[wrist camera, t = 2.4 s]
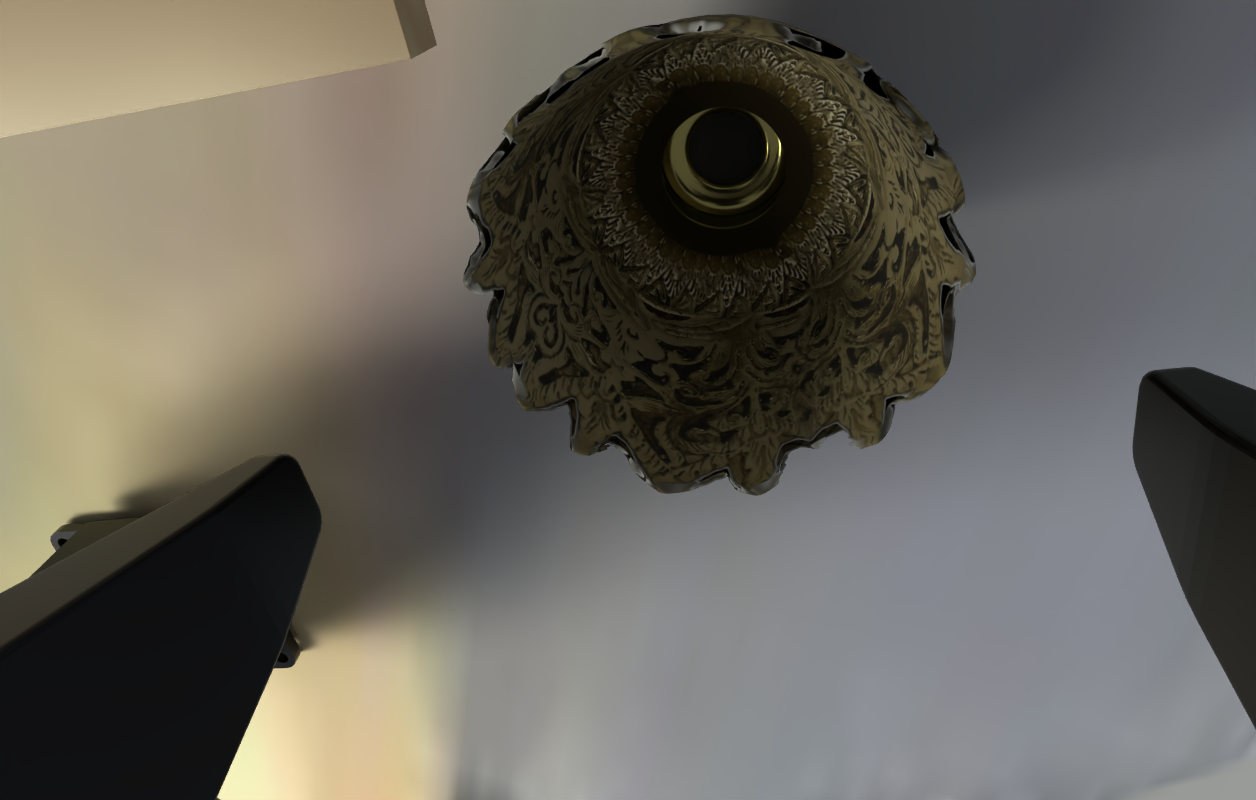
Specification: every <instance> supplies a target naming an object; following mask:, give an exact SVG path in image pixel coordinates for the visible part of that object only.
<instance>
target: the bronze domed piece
mask: <svg viewBox="0 0 1256 800" xmlns="http://www.w3.org/2000/svg"><path fill="white" fill-rule="evenodd" d="M719 112H735V113H738V114H741V115H743V116H745V117H747V118H748V119H749V120H751V121H752V122H753V123H754V125H755V126H756V127H757V129H758V131H759V133H760V135H761V138H762V144H763V151H762V157H761V160H760V163H759V165H758V166H757V168H756V169H755V171H754V172H753V173H752V174H751V175H750V176H749V177H748V178H746V179H745V180H743V181H741V182H739V183H736V184H731V185H719V184H715V183H712V182H710V181H708V180H706V179H704V178H703V177H702V176H701V175H700V174H699V173H698V172H697V171H696V169H695V168H694V166H693V164H692V161H691V158H690V152H689V146H690V140H691V137H692V134H693V132H694V130H695V129H696V127H697V126H698V125H699V124H700V123H701V122H702V121H703V120H704V119H705V118H707V117H708V116H710V115H712V114H715V113H719ZM503 134H504V135H505V136H506V137H505V139H504V140H503V141H502V143H501V144H500V145H499V147H498V148H497V149H496V150H495V152H494V153H493V154H492V155H491V157H490V158H489V159H488V160H487V162H486V163H485V164H484V165H483V167H482V168H481V169H480V170H479V171H478V173H477V175H476V177H475V178H474V180H473V182H472V185H471V187H470V190H469V193H468V198H467V210H468V213H469V216H470V219H471V220H472V222H473V223H474V224H476V225H477V228H478V231H479V238H480V242H479V245H478V246H477V248H476V250H475V251H474V252H473V254H472V255H471V256H470V259H469V262H468V266H467V268H466V270H465V272H464V277H463V282H464V285H465V287H466V288H468V289H469V290H471V291H473V292H474V293H477V294H481V295H482V296H484V295H483V293H485V292H489V291H492V290H493V291H494V295H493V298H492V300H491V302H490V304H489V307H488V311H487V315H486V317H487V320H488V322H489V336H488V352H489V358H490V360H491V362H492V363H493V365H495V366H496V367H498V368H503V367H506V366H507V367H508V369H509V370H510V369H511V368H512V367H513V374H512V381H513V384H514V387H515V391H516V395H517V401H518V403H519V404H520V406H521V408H522V409H524V410H526V411H528V412H532V413H540V412H548V411H553V410H556V409H559V408H561V407H562V406H565V405H568V406H569V410H570V411H569V415H570V417H571V426H570V427H571V429H570V447H571V450H572V451H574V452H576V453H578V454H581V455H588V456H590V455H592V454H594V453H595V452H601V451H603V450H606V449H607V447H609V446H611V445H605V444H606V443H611V444H612V445H613V446H614V447H615V448H616V449H618V450H620V451H621V452H623V453H624V454H625V456H626V457H627V459H628V461H629V463H630V465H631V467H632V468H633V470H634V472H635V473H636V474H637V475H638V476H639V477H640V478H642V479H643V480H644V481H645V482H646V483H647V484H649V485H650V486H651V487H653V488H654V489H656V490H657V491H659V492H661V493H680V492H685V491H690V490H693V489H696V488H698V487H701V486H704V485H707V484H709V483H711V482H713V481H715V480H718V479H723V478H725V477H727V476H728V477H729V480H730V482H731V483H732V485H733V486H734V488H735V489H736V490H738V491H740V492H743V493H747V494H750V495H756V496H757V495H761V494H764V493H766V492H767V491H769V490H771V489H772V488H774V487H775V486H776V485H777V484H778V481H779V478H780V475H781V474H782V473H783V472H782V471H783V469H784V467H785V466H786V464H785V463H784V462H785V461H786V459H787V458H788V454H789V453H790V452H791V451H792V450H795V449H797V448H799V447H807V448H812V449H815V448H819V447H820V446H821V444H822V443H823V442H824V440H825V439H826V438H827V437H828V436H831V435H833V434H835V433H837V432H839V431H842V430H843V431H845V432H847V433H848V435H849V439H851V440H853V441H854V442H852V443H850V444H849V445H851V446H854V447H856V448H858V449H862V448H865V447H868V446H871V445H874V444H877V443H879V442H880V441H881V440H882V439H883V438H884V437H885V436H886V434H887V432H888V431H889V429H890V426H891V423H892V419H893V414H894V410H895V404H898V403H901V402H909V401H912V400H915V399H917V398H919V397H920V396H922V395H923V394H924V393H926V392H927V391H928V390H929V389H930V388H932V387H933V386H934V385H935V384H936V383H937V382H938V381H939V379H940V378H941V377H942V376H943V375H944V374H945V373H946V371H947V369H948V366H949V364H950V360H951V355H952V348H953V341H954V330H955V317H954V299H955V295H956V294H957V293H958V292H960V291H961V290H962V288H963V287H965V286H966V285H968V284H971V283H972V280H973V278H974V277H975V275H976V267H975V260H974V257H973V255H972V253H971V251H970V250H969V248H968V246H967V245H966V243H965V242H964V240H963V239H962V237H961V235H960V233H959V231H958V229H957V227H956V225H955V223H954V221H953V218H952V215H955V214H957V213H958V212H959V211H960V210H961V209H962V208H963V207H964V206H965V196H964V189H963V185H962V181H961V178H960V175H959V173H958V171H957V168H956V166H955V164H954V162H953V161H952V159H951V157H950V155H949V153H947V152H945V151H944V150H942V149H941V148H940V147H939V146H938V145H939V143H940V140H939V139H938V138H937V136H936V135H935V134H934V132H933V131H932V128H931V127H930V125H929V124H928V122H927V121H926V120H925V119H924V118H923V117H922V115H921V114H920V113H919V112H918V111H917V110H916V109H915V108H914V107H913V106H912V105H911V104H910V103H909V102H908V101H907V99H906V98H905V97H904V96H903V95H902V94H901V93H900V92H899V91H898V90H897V89H896V88H895V87H894V86H893V85H892V84H891V83H889V82H888V81H885V80H883V79H881V78H880V77H879V76H878V75H877V74H875V73H874V71H873V70H872V65H871V64H869V63H868V62H866V61H865V60H863V59H861V58H859V57H858V56H856V55H854V54H852V53H850V52H849V51H847V50H845V49H843V48H841V47H839V46H837V45H835V44H833V43H830V42H828V41H825V40H823V39H820V38H818V37H816V36H814V35H812V34H810V33H808V32H806V31H804V30H801V29H798V28H795V27H792V26H789V25H787V24H784V23H781V22H778V21H773V20H769V19H764V18H760V17H755V16H744V15H733V14H727V15H705V16H698V17H692V18H685V19H680V20H676V21H672V22H668V23H665V24H660V25H650V26H644V27H640V28H636V29H632V30H629V31H627V32H624V33H622V34H619V35H617V36H615V37H613V38H612V39H610V40H608V41H606V42H604V43H603V44H602V48H601V49H599V50H598V51H596V52H594V53H592V54H591V55H589V56H588V57H587V58H585V59H584V60H582V61H581V62H579V63H578V64H576V65H574V66H573V67H570V68H569V69H567V70H566V71H565V72H564V73H562V74H561V75H560V77H559V78H558V79H557V81H556V82H555V83H554V84H553V85H552V86H551V87H549V88H548V89H547V90H546V91H544V92H543V93H542V94H540V95H536V96H535V97H534V98H533V99H532V100H531V101H530V102H529V103H528V104H526V105H525V106H524V107H523V108H521V109H520V110H519V111H518V112H517V113H516V114H515V115H514V116H513V117H512V118H511V119H510V121H509V122H508V124H507V125H506V127H505V129H504V131H503ZM956 284H959V290H958V291H957V292H956V294H955V295H954V290H955V285H956ZM603 445H605V446H603ZM788 452H789V453H788ZM786 453H787V454H786ZM785 454H786V455H785ZM782 460H783V461H782ZM781 462H782V464H781ZM780 465H781V467H780ZM779 467H780V471H781V472H780V474H779Z"/></svg>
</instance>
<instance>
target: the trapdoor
mask: <svg viewBox="0 0 1256 800" xmlns="http://www.w3.org/2000/svg"><path fill="white" fill-rule="evenodd" d="M436 45H437V44H436V40H435V37H434V33H433V29H432V26H431V22H430V19H429V15H428V12H427V8H426V5H425V1H424V0H0V138H2V137H7V136H12V135H17V134H22V133H28V132H33V131H38V130H43V129H48V128H54V127H59V126H64V125H69V124H75V123H80V122H85V121H90V120H95V119H101V118H106V117H111V116H116V115H121V114H127V113H132V112H137V111H142V110H148V109H153V108H158V107H163V106H168V105H174V104H179V103H184V102H189V101H194V100H200V99H205V98H210V97H215V96H220V95H226V94H231V93H236V92H241V91H247V90H252V89H257V88H262V87H267V86H273V85H278V84H283V83H288V82H293V81H299V80H304V79H309V78H314V77H320V76H325V75H330V74H335V73H340V72H346V71H351V70H356V69H361V68H366V67H372V66H377V65H382V64H387V63H392V62H398V61H403V60H408V59H412V58H414V57H415V56H417V55H419V54H421V53H423V52H425V51H427V50H428V49H430V48H432V47H434V46H436Z"/></svg>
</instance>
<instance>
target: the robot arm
mask: <svg viewBox="0 0 1256 800" xmlns="http://www.w3.org/2000/svg"><path fill="white" fill-rule="evenodd" d="M1133 458H1134V463H1135V467H1136V470H1137V473H1138V476H1139V478H1140V481H1141V484H1142V486H1143V489H1144V491H1145V494H1146V497H1147V499H1148V502H1149V504H1150V507H1151V510H1152V512H1153V515H1154V518H1155V520H1156V523H1157V525H1158V528H1159V531H1160V533H1161V536H1162V538H1163V541H1164V544H1165V546H1166V549H1167V552H1168V554H1169V557H1170V559H1171V562H1172V565H1173V567H1174V570H1175V573H1176V575H1177V578H1178V580H1179V583H1180V585H1181V587H1182V590H1183V592H1184V595H1185V597H1186V599H1187V601H1188V603H1189V605H1190V607H1191V609H1192V611H1193V613H1194V615H1195V617H1196V619H1197V621H1198V623H1199V625H1200V627H1201V629H1202V631H1203V633H1204V634H1205V636H1206V638H1207V640H1208V642H1209V644H1210V646H1211V647H1212V649H1213V651H1214V653H1215V655H1216V657H1217V658H1218V660H1219V662H1220V664H1221V666H1222V668H1223V670H1224V671H1225V673H1226V675H1227V677H1228V679H1229V681H1230V683H1231V684H1232V686H1233V688H1234V690H1235V692H1236V694H1237V696H1238V697H1239V699H1240V701H1241V703H1242V705H1243V707H1244V709H1245V710H1246V712H1247V714H1248V716H1249V718H1250V720H1251V722H1252V723H1253V725H1254V727H1255V729H1256V390H1255V389H1252V388H1249V387H1247V386H1244V385H1241V384H1239V383H1236V382H1233V381H1230V380H1228V379H1225V378H1222V377H1220V376H1217V375H1214V374H1212V373H1209V372H1206V371H1204V370H1201V369H1198V368H1195V367H1182V368H1172V369H1162V370H1153V371H1150V372H1148V373H1146V374H1145V375H1144V376H1143V378H1142V380H1141V383H1140V386H1139V393H1138V402H1137V410H1136V419H1135V428H1134V436H1133ZM321 523H322V520H321V512H320V509H319V506H318V504H317V502H316V500H315V497H314V495H313V493H312V491H311V489H310V486H309V484H308V482H307V480H306V478H305V476H304V473H303V471H302V469H301V467H300V465H299V463H298V461H297V460H296V459H295V458H294V457H292V456H290V455H288V454H274V455H263V456H257V457H254V458H252V459H250V460H248V461H246V462H244V463H242V464H240V465H239V466H237V467H235V468H233V469H231V470H229V471H227V472H226V473H224V474H222V475H220V476H218V477H216V478H214V479H212V480H211V481H209V482H207V483H205V484H203V485H201V486H199V487H198V488H196V489H194V490H192V491H190V492H188V493H186V494H185V495H183V496H181V497H179V498H177V499H175V500H173V501H171V502H170V503H168V504H166V505H164V506H162V507H160V508H158V509H157V510H155V511H153V512H151V513H149V514H147V515H145V516H144V517H141V518H129V519H116V520H103V521H90V522H87V523H79V524H67V525H63V526H61V527H60V528H59V529H58V530H57V531H56V532H55V533H53V535H52V536H51V543H52V545H53V547H54V548H55V550H56V552H55V553H54V554H53V555H52V556H51V557H50V558H49V559H48V560H47V561H46V562H45V563H44V564H43V565H42V566H41V567H40V568H39V569H38V570H37V571H35V572H34V573H33V574H32V575H31V576H30V577H29V578H28V579H26V580H24V581H22V582H21V583H19V584H17V585H15V586H13V587H11V588H9V589H8V590H6V591H4V592H2V593H0V800H220V799H219V798H217V796H218V794H219V791H220V789H221V787H222V785H223V782H224V780H225V778H226V775H227V773H228V771H229V769H230V766H231V764H232V762H233V760H234V757H235V755H236V753H237V750H238V748H239V746H240V744H241V741H242V739H243V737H244V734H245V732H246V730H247V728H248V725H249V723H250V721H251V718H252V716H253V714H254V712H255V709H256V707H257V705H258V702H259V700H260V698H261V696H262V693H263V691H264V689H265V686H266V684H267V682H268V680H269V677H270V675H271V673H272V671H273V668H289V667H292V666H293V665H294V664H295V663H296V661H297V659H298V657H299V656H300V649H299V647H298V645H297V643H296V641H295V639H294V637H293V635H292V633H291V631H290V629H289V627H290V625H291V622H292V619H293V615H294V612H295V609H296V606H297V603H298V600H299V597H300V594H301V590H302V587H303V584H304V581H305V578H306V575H307V572H308V569H309V565H310V562H311V559H312V556H313V553H314V550H315V547H316V544H317V540H318V537H319V534H320V531H321Z"/></svg>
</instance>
